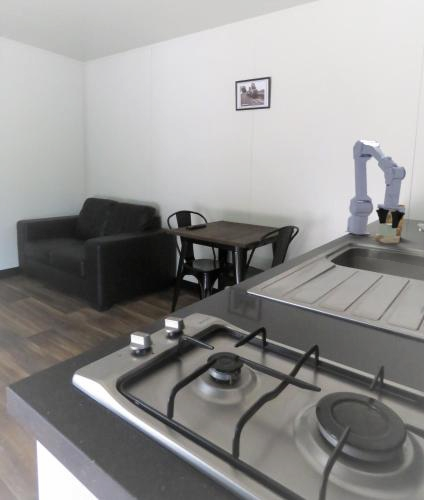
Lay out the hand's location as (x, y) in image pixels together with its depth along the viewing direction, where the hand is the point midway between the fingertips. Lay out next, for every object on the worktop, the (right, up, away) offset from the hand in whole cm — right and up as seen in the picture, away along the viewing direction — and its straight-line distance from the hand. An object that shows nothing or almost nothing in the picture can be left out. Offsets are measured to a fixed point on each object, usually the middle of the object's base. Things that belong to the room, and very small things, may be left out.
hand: (388, 226), depth 164 cm
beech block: (0, -7, +1) cm, 7 cm away
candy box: (+8, -4, +13) cm, 16 cm away
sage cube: (0, -4, +1) cm, 4 cm away
